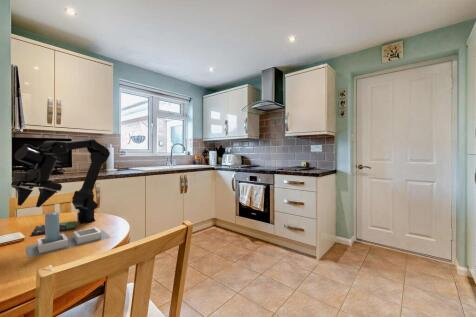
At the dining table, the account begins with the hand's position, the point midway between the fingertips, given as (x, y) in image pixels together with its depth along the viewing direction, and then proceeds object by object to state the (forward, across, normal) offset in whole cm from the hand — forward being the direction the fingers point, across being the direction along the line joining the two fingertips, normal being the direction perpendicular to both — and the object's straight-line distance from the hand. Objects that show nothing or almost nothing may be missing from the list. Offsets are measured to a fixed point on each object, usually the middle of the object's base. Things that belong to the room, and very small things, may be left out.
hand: (28, 206), depth 88 cm
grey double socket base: (+12, +18, +7) cm, 23 cm away
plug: (+13, +15, +3) cm, 20 cm away
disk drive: (+9, -1, +16) cm, 19 cm away
